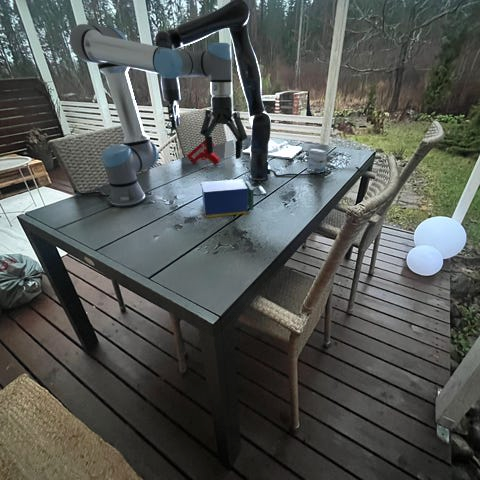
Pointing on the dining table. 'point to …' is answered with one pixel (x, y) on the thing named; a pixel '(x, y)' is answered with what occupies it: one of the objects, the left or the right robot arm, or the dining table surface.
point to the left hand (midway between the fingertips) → (223, 155)
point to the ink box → (316, 160)
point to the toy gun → (203, 154)
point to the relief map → (280, 150)
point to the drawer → (251, 194)
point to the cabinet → (224, 198)
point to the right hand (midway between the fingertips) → (176, 127)
